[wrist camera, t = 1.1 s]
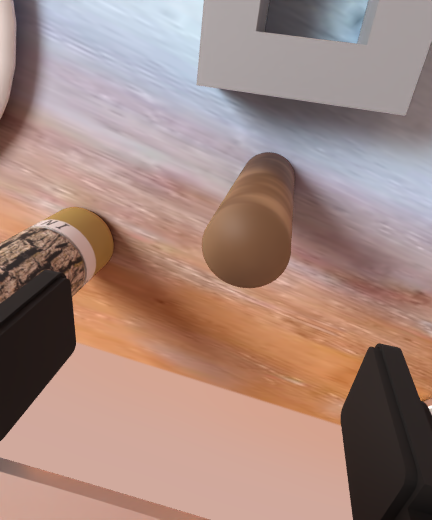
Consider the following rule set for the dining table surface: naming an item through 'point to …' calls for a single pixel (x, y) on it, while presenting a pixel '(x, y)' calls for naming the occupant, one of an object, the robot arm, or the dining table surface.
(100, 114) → the dining table surface
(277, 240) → the peg
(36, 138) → the dining table surface
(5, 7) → the plated food
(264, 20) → the socket
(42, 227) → the paper tube
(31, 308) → the robot arm
